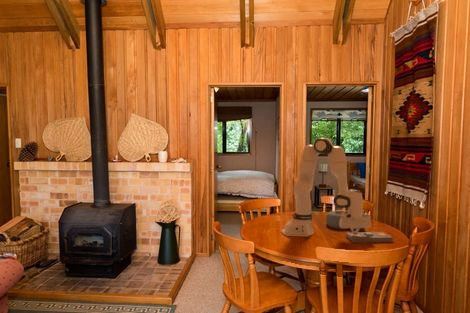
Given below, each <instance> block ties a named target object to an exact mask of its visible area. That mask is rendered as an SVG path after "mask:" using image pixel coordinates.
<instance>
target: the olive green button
mask: <svg viewBox="0 0 470 313" xmlns="http://www.w3.org/2000/svg"><path fill="white" fill-rule="evenodd" d="M363 232H364V235H366V236H373V234H372V233H370V232H371V231H370V232H369V231H368V232H367V231H363Z"/></svg>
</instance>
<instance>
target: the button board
mask: <svg viewBox="0 0 470 313" xmlns="http://www.w3.org/2000/svg"><path fill="white" fill-rule="evenodd" d="M364 232H365V231H358V235H359V236H352V235H351V234H352V232H345V238H347V240H349V241H350V242H352V243H353V244H364V243H366V244H367V243H368V244H369V243H393V242H394V241H393V240H394V238H393V236H391V235H389V234H387V233H386V232H384V231H370V233H372V234H373V236H366V235H364ZM381 233H383V234H385V235H386V236H380V235H378V234H381Z"/></svg>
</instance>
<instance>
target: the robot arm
mask: <svg viewBox="0 0 470 313" xmlns="http://www.w3.org/2000/svg"><path fill="white" fill-rule="evenodd" d="M321 154H322V155H327V157H328V162H329V163H328V165H329V169H330V172H331V174H332V175H334V176H335V177H336V179H337V185H338V194H336V195H335V196H334V197H333V201H332V202H333V204H334V205H335V207H336V208H339V209H345V208H346V209H347V210H346V211H345V212H342V213H341V217H340V221H339V226H340V227H341V228H347V229H350V231H351V233H352V234H353V235H358V232H360V231H359V228H365V229H370V228H371V227H372V223H371V218H372V216H371V214H369V213H363V210H364V209H363V204H364V202H363V200H364V199H363V192H362V191H361V190H359V189H355V188H350V189H349V184H348V183H349V182H348V177H347V175H348V171H347V170H348V164H347V157H346V153H345V149H344V147H342V146H340V145H334V142H333V141H332V139H330V138H328V137H318V138H317V139H316V140H315V141H314V142H313V144H307V145H305V146H304V147H303V150H302V153H301V156H300V160H299V161H300V162H299V167H298V178H297V179H298V180H297V181H296V182H295V183H294V185H293V194H294V195H293V196H294V199H295V200H294V201H295V212H291V213H290V214H291V216H292V218H291V219H289V220H288V221H287V222H285V226H284V228H282V229H281V233H282V234H283V235H284V236H287V237H311V235H313V234H314V229H313V222H312V221H313V214H312V200H311V191H312V190H313V186H314V179H315V172H316V165H317V160H318V157H319V155H321ZM354 228H356V229H357V230H356V231H354Z"/></svg>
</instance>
